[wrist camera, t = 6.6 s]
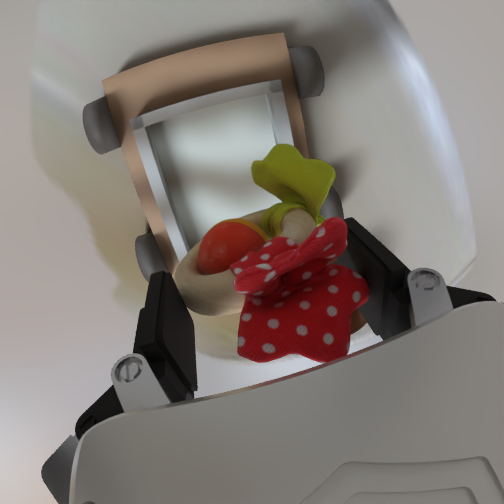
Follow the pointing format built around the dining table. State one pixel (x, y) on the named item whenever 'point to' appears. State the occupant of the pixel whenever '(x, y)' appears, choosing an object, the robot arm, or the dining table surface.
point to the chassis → (204, 135)
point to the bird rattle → (279, 267)
